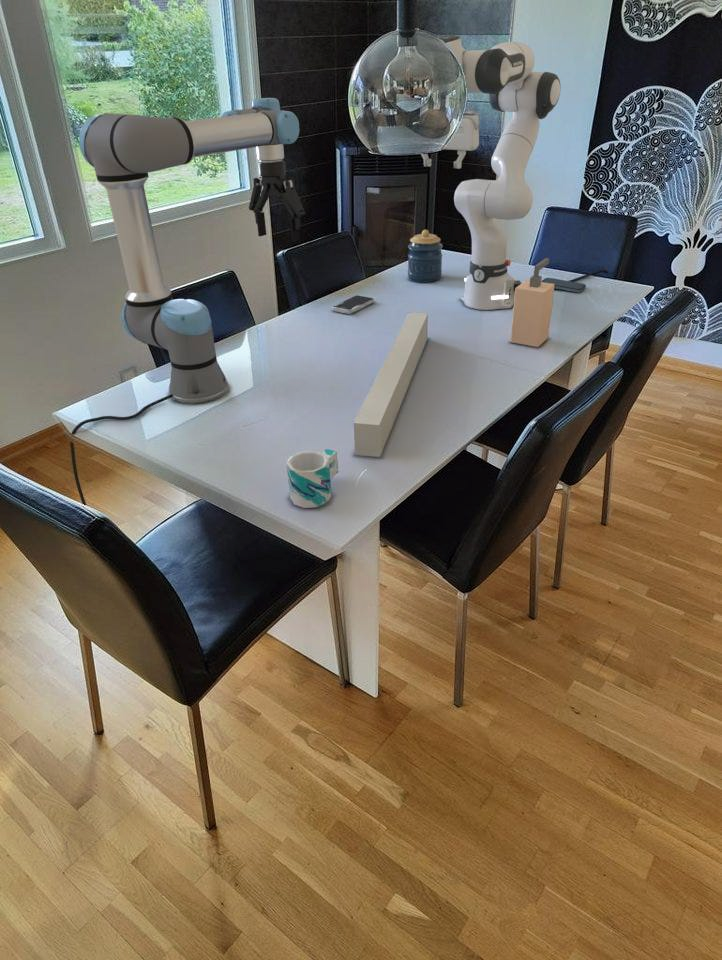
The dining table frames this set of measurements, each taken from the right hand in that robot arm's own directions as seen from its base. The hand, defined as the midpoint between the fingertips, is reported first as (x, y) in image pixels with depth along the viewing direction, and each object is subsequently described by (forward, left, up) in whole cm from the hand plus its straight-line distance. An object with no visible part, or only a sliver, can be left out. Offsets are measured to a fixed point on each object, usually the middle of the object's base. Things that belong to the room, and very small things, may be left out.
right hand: (442, 167), depth 184 cm
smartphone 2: (-61, +15, -47) cm, 78 cm away
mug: (+90, +27, -47) cm, 105 cm away
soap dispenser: (-10, +27, -47) cm, 55 cm away
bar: (+41, +12, -47) cm, 63 cm away
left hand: (+22, -43, -19) cm, 52 cm away
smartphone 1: (-5, -37, -47) cm, 60 cm away
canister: (-46, -34, -47) cm, 74 cm away
